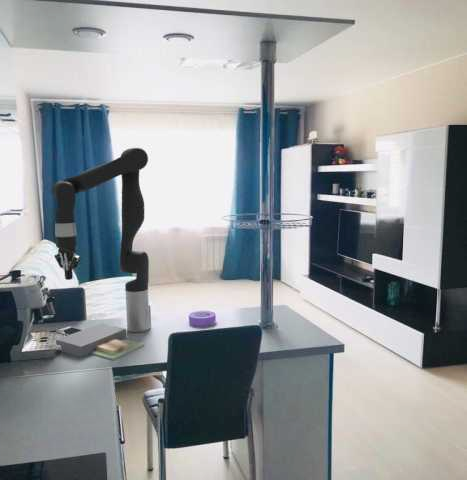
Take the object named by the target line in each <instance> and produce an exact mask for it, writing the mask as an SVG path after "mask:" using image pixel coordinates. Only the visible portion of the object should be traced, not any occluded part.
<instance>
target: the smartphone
mask: <svg viewBox="0 0 467 480" xmlns="http://www.w3.org/2000/svg"><path fill="white" fill-rule="evenodd" d="M59 330H62V331H64V332H65V334H66V335H67V336H68V335H71V334H73V333H76V332H79V331H82V330H83V329H80V328H76V327H73V326H67V327H64V328H61V329H59ZM66 335H65V336H66Z"/></svg>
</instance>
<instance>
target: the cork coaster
mask: <svg viewBox="0 0 467 480" xmlns="http://www.w3.org/2000/svg"><path fill="white" fill-rule="evenodd" d="M130 347H131V343H129V342H125V341H121V340H117V339H112V340H110V341H107V342H105V343H102V344H100V345H97V346H96V350H98V351H101V352H105V353H108V354H112V355H114V354H116V353H118V352H121V351H123V350H125V349H128V348H130Z"/></svg>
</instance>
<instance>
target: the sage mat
mask: <svg viewBox="0 0 467 480" xmlns="http://www.w3.org/2000/svg"><path fill="white" fill-rule="evenodd" d="M121 341H125V342H129V343H131V347H130V348H128V349H125V350H123V351H121V352H118V353H116V354H114V355H112V354H108V353H105V352H101V351H98V350H96V351H94V352H92V353H91V355H94V356H98V357H101V358H104V359H109V360H111V361H112V360H113V361H115V360H116V359H119V358H120V357H121V358H122V357H123V356H125V355H127V354H129V353H132V352H133V351H136V350H138V349H140V348H143V347H145V345H146V344H145V343H141V342H139V341H133V340H129V339H127V338H126V339H123V340H121Z"/></svg>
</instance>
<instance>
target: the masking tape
mask: <svg viewBox="0 0 467 480" xmlns="http://www.w3.org/2000/svg"><path fill="white" fill-rule="evenodd" d="M216 314H217V313H215V312H213V311H210V310H199V311H192V312H190V313H189V314H188V324H189V325H190V326H194V327H199V328H200V327H202V326H204V327H208V326H207V325H210V324H213V323H214V322H215V321H216V322H217V319H216V316H217V315H216ZM213 325H214V324H213ZM210 326H211V325H210Z"/></svg>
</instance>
